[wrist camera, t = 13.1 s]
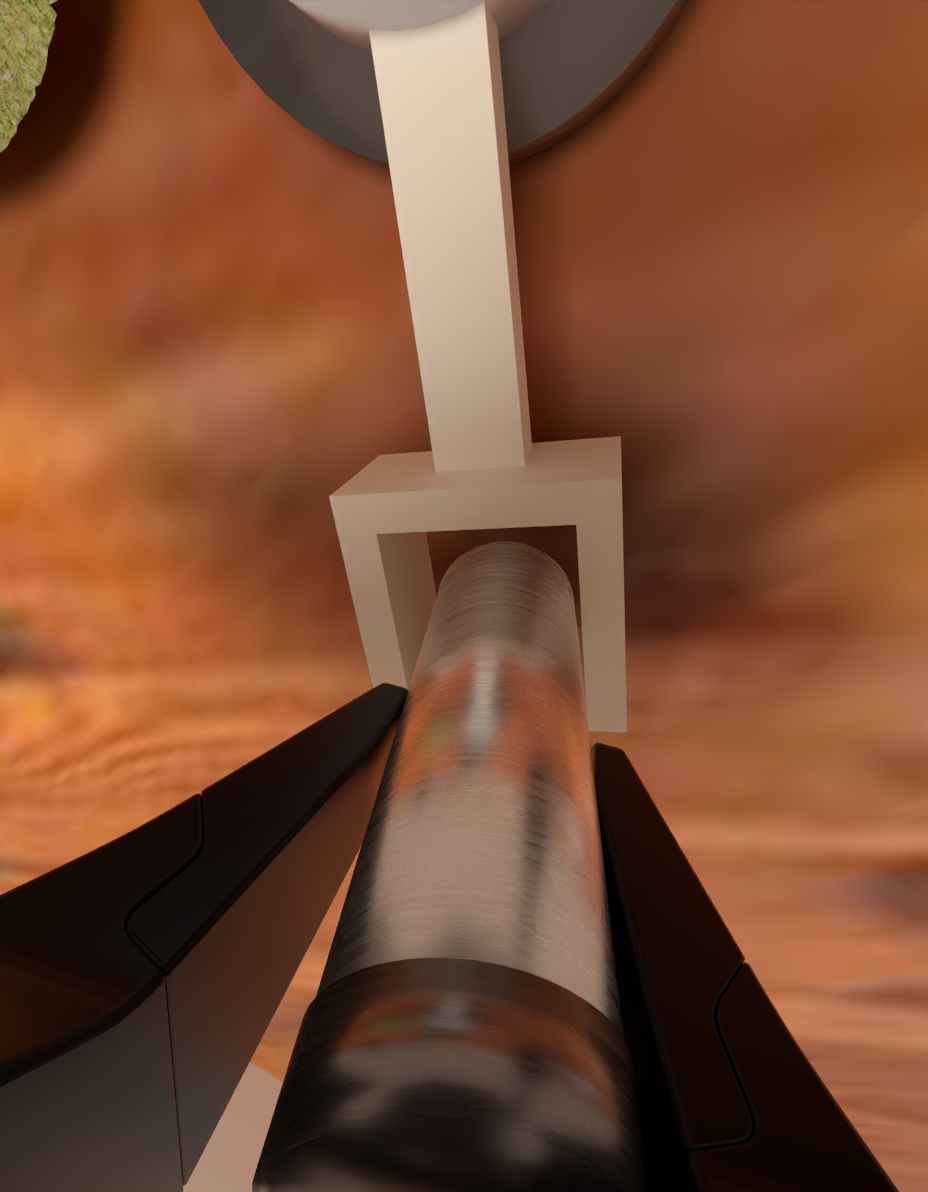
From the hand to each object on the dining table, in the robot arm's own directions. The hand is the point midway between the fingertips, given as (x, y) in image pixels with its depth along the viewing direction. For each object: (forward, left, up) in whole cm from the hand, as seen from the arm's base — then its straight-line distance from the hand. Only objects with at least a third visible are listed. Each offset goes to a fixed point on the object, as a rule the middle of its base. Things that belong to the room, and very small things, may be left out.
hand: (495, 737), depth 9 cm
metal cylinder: (0, 0, -3) cm, 3 cm away
